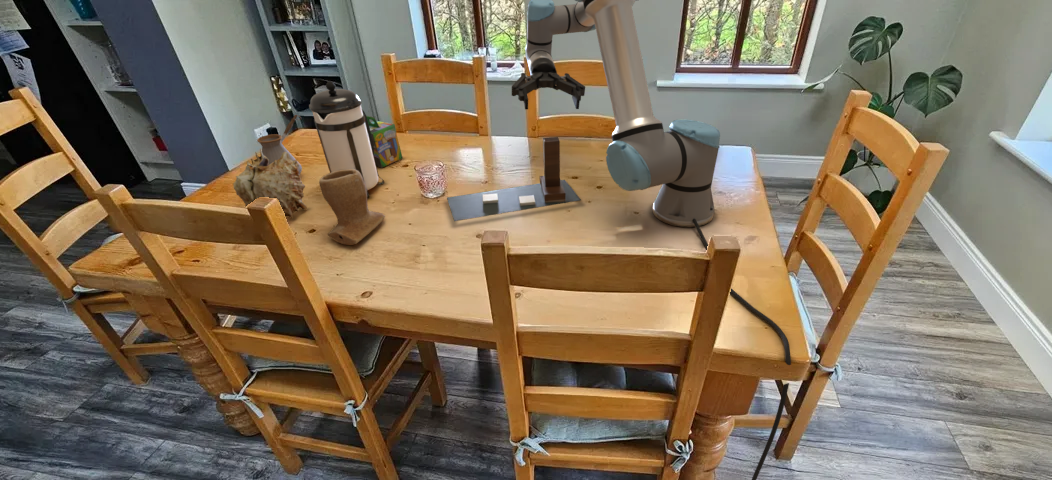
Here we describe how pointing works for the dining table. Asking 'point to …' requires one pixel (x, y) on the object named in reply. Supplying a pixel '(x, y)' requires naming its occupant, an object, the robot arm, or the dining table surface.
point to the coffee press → (345, 133)
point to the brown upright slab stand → (552, 172)
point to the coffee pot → (276, 145)
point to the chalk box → (384, 142)
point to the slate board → (502, 201)
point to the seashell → (272, 182)
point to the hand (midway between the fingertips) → (552, 104)
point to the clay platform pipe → (349, 206)
